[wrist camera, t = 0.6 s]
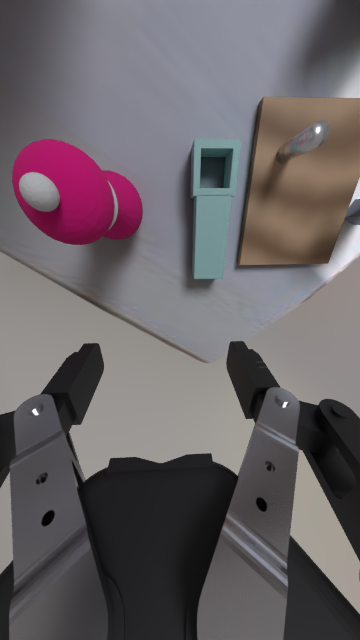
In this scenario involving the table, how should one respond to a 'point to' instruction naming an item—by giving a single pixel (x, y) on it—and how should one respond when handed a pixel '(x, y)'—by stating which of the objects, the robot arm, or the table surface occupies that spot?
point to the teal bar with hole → (212, 207)
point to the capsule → (303, 141)
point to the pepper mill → (73, 194)
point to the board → (299, 182)
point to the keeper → (354, 213)
